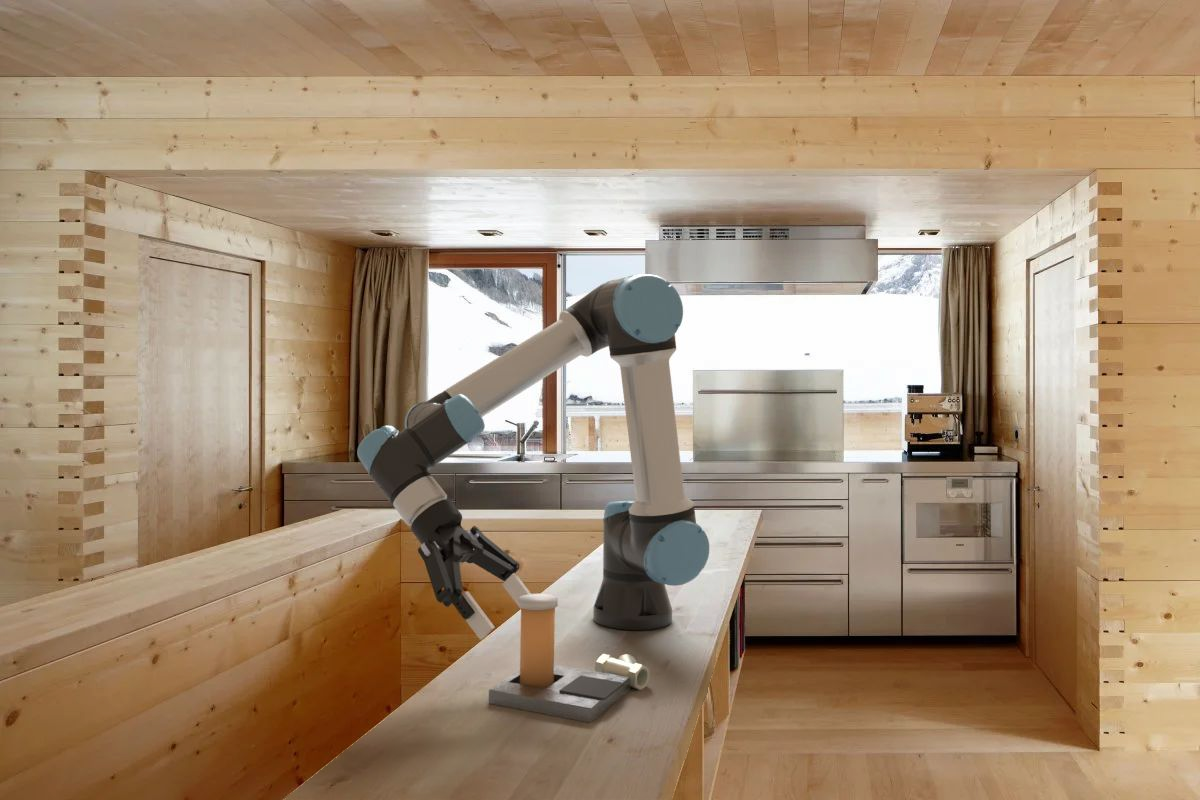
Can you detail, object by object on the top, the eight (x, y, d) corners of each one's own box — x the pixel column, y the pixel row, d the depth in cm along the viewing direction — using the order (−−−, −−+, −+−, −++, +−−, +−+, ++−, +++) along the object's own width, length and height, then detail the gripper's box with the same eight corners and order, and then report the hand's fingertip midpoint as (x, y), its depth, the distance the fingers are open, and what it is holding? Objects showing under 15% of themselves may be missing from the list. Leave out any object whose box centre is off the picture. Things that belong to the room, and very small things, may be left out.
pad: (580, 677, 136) (580, 675, 136) (623, 684, 133) (623, 682, 133) (559, 692, 130) (559, 690, 130) (604, 700, 127) (604, 698, 127)
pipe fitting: (621, 673, 146) (593, 680, 141) (623, 648, 146) (595, 655, 141) (661, 685, 141) (634, 693, 136) (663, 659, 141) (636, 666, 136)
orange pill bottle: (528, 683, 139) (530, 592, 139) (562, 689, 137) (564, 596, 136) (509, 695, 134) (511, 600, 133) (544, 701, 131) (546, 605, 131)
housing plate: (534, 674, 143) (535, 661, 143) (629, 690, 137) (629, 677, 137) (488, 703, 130) (488, 689, 130) (590, 722, 124) (590, 708, 124)
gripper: (458, 517, 154) (535, 617, 148) (362, 541, 131) (448, 660, 125) (486, 488, 151) (565, 588, 146) (393, 507, 129) (482, 627, 123)
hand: (511, 622), depth 136 cm, fingers open, 13 cm apart
